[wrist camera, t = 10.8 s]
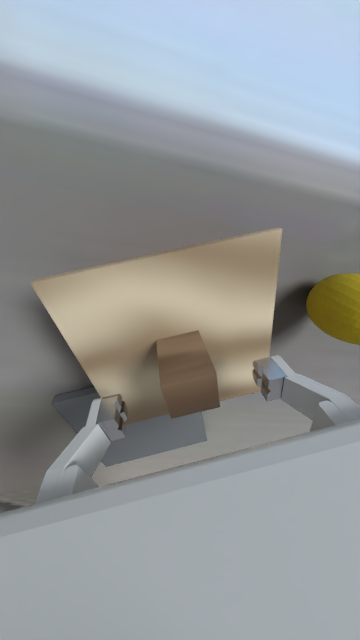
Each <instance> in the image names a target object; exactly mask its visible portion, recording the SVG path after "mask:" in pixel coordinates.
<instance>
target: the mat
mask: <svg viewBox="0 0 360 640" xmlns="http://www.w3.org/2000/svg"><path fill="white" fill-rule="evenodd" d="M98 398H101V397H100V395H99V393H98V392H97V390H96V389H95V387H90V388H86V389H82V390H78V391H74V392H69V393H65V394H61V395H57V396H55V398H54V400H53V402H52V405H53V406H54V407H55V408H56V409H57V410H58V411H59V413H60V414H61V415H62V416H63V417H64V418H65V420H66V421H67V422H68V423H69V424H70V425H71V427H72V428H73V429H74V430H75V431H76V432H77V434H78V433H79V431H80V430H81V429H82V428H83V427H85V426H86V422H87V419H88V415H89V412H90V408H91V404H92V402H93V400H94V399H98ZM203 441H207V437H206V432H205V427H204V421H203V416H202V411H201V412H197V413H193V414H189V415H185V416H182V417H178V418H174V419H171V417H170V414H167V415H163V416H159V417H155V418H151V419H147V420H143V421H139V422H135V423H131V424H127V428H126V437H125V438H121V439H118V440H114V441H111V443H110V445H109V447H108V449H107V450H106V452H105V454H104V456H103V458H102V459H101V461H102V463H103V464H104V465H105V466H106V467H107V466H111V465H114V464H118V463H122V462H126V461H130V460H134V459H138V458H141V457H145V456H149V455H153V454H157V453H161V452H165V451H169V450H172V449H176V448H180V447H184V446H188V445H192V444H196V443H199V442H203Z"/></svg>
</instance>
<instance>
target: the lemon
mask: <svg viewBox="0 0 360 640" xmlns="http://www.w3.org/2000/svg"><path fill="white" fill-rule="evenodd" d="M306 308H307V313H308V315H309V317H310V319H311V320H312V322H313V323H314V324H315V325H316V326H317V327H319V328H320V329H321V330H322V331H324V332H325V333H327V334H328V335H330V336H332V337H334V338H336V339H339V340H342V341H345V342H348V343H352V344H358V345H360V274H355V273H346V274H337V275H333V276H330V277H327V278H325V279H323V280H322V281H320V282H319V283H317V284H316V285H315V286H314V287H313V288H312V290H311V291H310V293H309V295H308V297H307V302H306Z"/></svg>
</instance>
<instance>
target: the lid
mask: <svg viewBox="0 0 360 640" xmlns="http://www.w3.org/2000/svg"><path fill="white" fill-rule="evenodd" d="M281 237H282V228H272V229H267V230H262V231H258V232H253V233H248V234H244V235H239V236H234V237H230V238H225V239H220V240H216V241H211V242H206V243H202V244H197V245H192V246H188V247H183V248H178V249H174V250H169V251H164V252H160V253H155V254H150V255H146V256H141V257H136V258H132V259H127V260H122V261H118V262H113V263H108V264H104V265H99V266H95V267H90V268H85V269H81V270H76V271H71V272H67V273H62V274H57V275H53V276H48V277H43V278H39V279H35V280H34V281H32V282H31V283H30V284H31V285H32V287H33V288H34V290H35V292H36V293H37V295H38V297H39V298H40V300H41V301H42V303H43V305H44V306H45V308H46V309H47V311H48V313H49V314H50V316H51V318H52V319H53V321H54V322H55V324H56V326H57V327H58V329H59V330H60V332H61V334H62V335H63V337H64V339H65V340H66V342H67V343H68V345H69V347H70V348H71V350H72V351H73V353H74V355H75V356H76V358H77V359H78V361H79V363H80V364H81V366H82V368H83V369H84V371H85V372H86V374H87V376H88V377H89V379H90V380H91V382H92V384H93V385H94V387H95V389H96V390H97V392H98V393H99V395H100V397H101V398H102V397H107V396H112V395H116V394H121V396H122V401H124V402H125V403H126V406H127V411H128V416H127V419H126V421H125V423H126V425H127V424H131V423H135V422H139V421H143V420H147V419H151V418H155V417H159V416H163V415H167V414H170V417H171V419H174V418H178V417H182V416H185V415H189V414H193V413H197V412H201V411H205V410H209V409H213V408H217V407H220V403H219V401H223V400H227V399H231V398H235V397H239V396H243V395H247V394H251V393H255V392H259V391H261V388H260V387H258V386H257V385H256V383H255V381H254V379H253V375H252V371H253V369H254V367H253V361H255V360H259V359H263V358H267V357H269V355H270V345H271V335H272V325H273V315H274V305H275V296H276V286H277V276H278V266H279V256H280V246H281Z"/></svg>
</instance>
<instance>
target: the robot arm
mask: <svg viewBox="0 0 360 640" xmlns="http://www.w3.org/2000/svg"><path fill="white" fill-rule="evenodd" d="M253 367H254V369H253V371H252V375H253V379H254V381H255V383H256V385H257V386H258V387H260V388H261V393H262V395H263V396H264V398H265V399H266V401H272V400H276V399H282V400H283V401H285V402H286V403H287V404H289V405H290V406H292V407H293V408H295V409H296V410H298V411H299V412H301V413H302V414H304V415H305V416H307V417H308V418H310V419H311V420H313V422H312V425H311V428H310V432H308V433H304V434H300V435H296V436H293V437H289V438H285V439H281V440H277V441H274V442H270V443H266V444H262V445H258V446H254V447H251V448H247V449H243V450H239V451H235V452H231V453H228V454H224V455H220V456H216V457H212V458H208V459H205V460H201V461H197V462H193V463H189V464H186V465H182V466H178V467H174V468H170V469H167V470H163V471H159V472H155V473H151V474H147V475H144V476H140V477H136V478H132V479H128V480H125V481H121V482H117V483H113V484H109V485H106V486H102V487H99V486H98V485H97V484H96V483H95V482H94V481H93V480H92V479H91V477H92V475H93V474H94V472H95V470H96V468H97V466H98V465H99V463H100V461H101V459H102V458H103V456H104V454H105V452H106V450H107V449H108V447H109V445H110V443H111V441H114V440H118V439H121V438H125V437H126V428H127V425H126V423H125V421H126V419H127V416H128V411H127V406H126V403H125V402H124V401H122V396H121V394H116V395H112V396H107V397H102V398H98V399H94V400H93V402H92V404H91V408H90V412H89V415H88V419H87V422H86V426H85V427H83V428H82V429H81V430H80V431H79V433H78V434H77V435H76V436H75V437H74V439H73V440H72V441H71V442H70V443H69V445H68V446H67V447H66V448H65V449H64V451H63V452H62V453H61V454H60V456H59V457H58V458H57V459H56V460H55V462H54V463H53V464H52V465H51V466H50V468H49V469H48V470H47V471H46V474H45V477H44V479H43V482H42V485H41V487H40V490H39V493H38V495H37V498H36V501H35V503H34V504H33V505H29V506H25V507H22V508H18V509H14V510H10V511H7V512H2V513H0V640H360V407H358V406H357V405H356V404H355V403H354V402H353V401H352V400H351V399H350V398H349V397H348V396H347V395H345V394H343V393H341V392H339V391H336V390H334V389H332V388H330V387H327V386H325V385H323V384H321V383H318V382H316V381H314V380H311V379H309V378H307V377H305V376H302V375H300V374H295V372H294V371H293V370H292V369H291V368H290V367H289V366H288V365H287V364H286V362H285V361H284V360H283V359H282V358H281V357H280V356H279V355H275V356H271V357H267V358H263V359H259V360H255V361H253Z"/></svg>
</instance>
